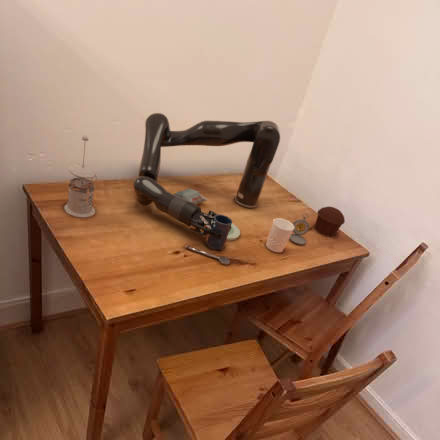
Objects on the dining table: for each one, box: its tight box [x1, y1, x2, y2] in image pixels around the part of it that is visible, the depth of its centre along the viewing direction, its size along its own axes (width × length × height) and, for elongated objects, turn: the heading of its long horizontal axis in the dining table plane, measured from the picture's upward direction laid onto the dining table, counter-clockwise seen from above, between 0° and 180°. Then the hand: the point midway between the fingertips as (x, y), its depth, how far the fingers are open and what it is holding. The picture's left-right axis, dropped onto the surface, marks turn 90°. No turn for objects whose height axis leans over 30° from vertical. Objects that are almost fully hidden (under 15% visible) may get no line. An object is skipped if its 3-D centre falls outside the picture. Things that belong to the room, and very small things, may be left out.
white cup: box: [265, 217, 294, 253], centre depth 155 cm, size 8×8×10 cm
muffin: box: [314, 206, 345, 237], centre depth 178 cm, size 12×11×10 cm
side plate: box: [210, 220, 241, 242], centre depth 157 cm, size 13×13×1 cm
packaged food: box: [173, 187, 208, 206], centre depth 165 cm, size 9×12×5 cm
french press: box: [63, 135, 97, 218], centre depth 137 cm, size 10×12×25 cm
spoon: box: [185, 245, 231, 266], centre depth 142 cm, size 4×16×1 cm, turn 78°
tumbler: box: [206, 214, 233, 251], centre depth 145 cm, size 6×6×10 cm
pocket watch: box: [289, 213, 310, 246], centre depth 165 cm, size 8×8×10 cm
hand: (225, 232), depth 144 cm, fingers closed on tumbler, 6 cm apart
